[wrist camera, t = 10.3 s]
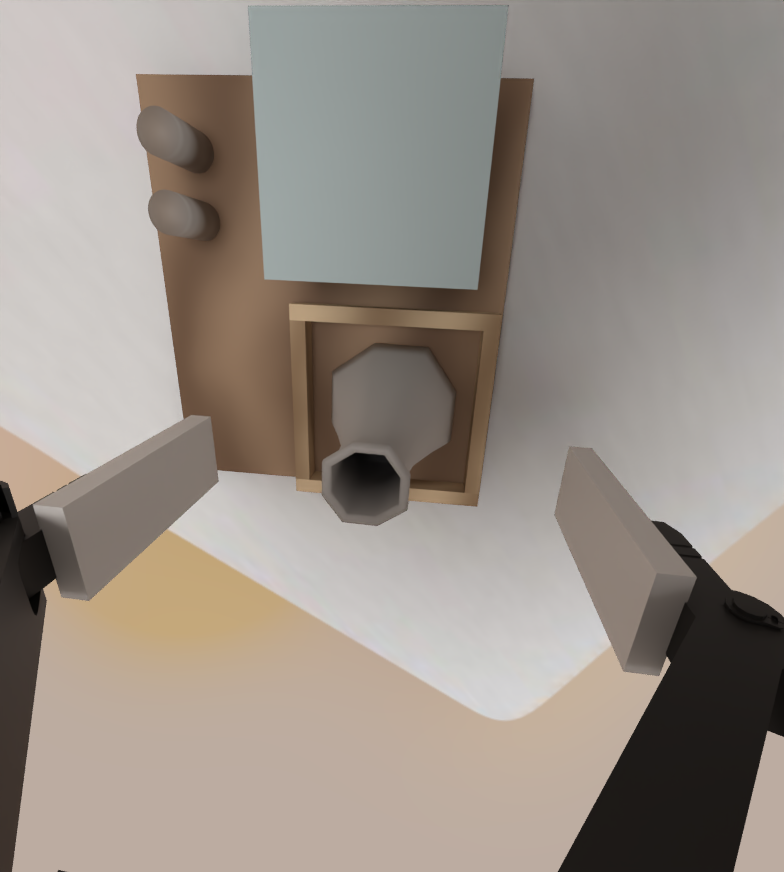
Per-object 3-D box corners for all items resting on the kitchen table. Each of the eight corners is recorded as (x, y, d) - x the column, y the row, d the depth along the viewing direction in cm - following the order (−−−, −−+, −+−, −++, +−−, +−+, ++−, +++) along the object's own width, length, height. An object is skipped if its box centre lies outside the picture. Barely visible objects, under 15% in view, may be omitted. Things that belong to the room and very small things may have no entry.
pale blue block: (485, 91, 18) (508, 5, 13) (466, 286, 21) (477, 289, 15) (305, 88, 19) (247, 5, 13) (309, 279, 22) (264, 279, 16)
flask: (441, 325, 22) (446, 359, 13) (469, 450, 24) (489, 557, 15) (313, 358, 23) (231, 411, 14) (350, 474, 26) (301, 586, 16)
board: (528, 90, 19) (551, 42, 15) (476, 487, 26) (484, 523, 22) (152, 85, 21) (85, 39, 17) (200, 464, 28) (162, 494, 24)
